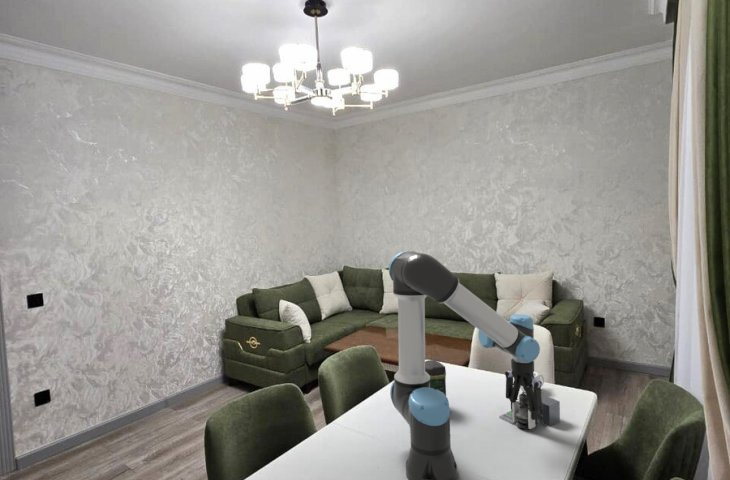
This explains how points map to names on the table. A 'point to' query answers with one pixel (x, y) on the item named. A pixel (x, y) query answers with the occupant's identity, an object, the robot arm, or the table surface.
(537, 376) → the mug
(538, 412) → the plunger
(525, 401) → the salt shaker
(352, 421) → the table surface
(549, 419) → the gauge
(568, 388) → the table surface
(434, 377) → the coffee jar
